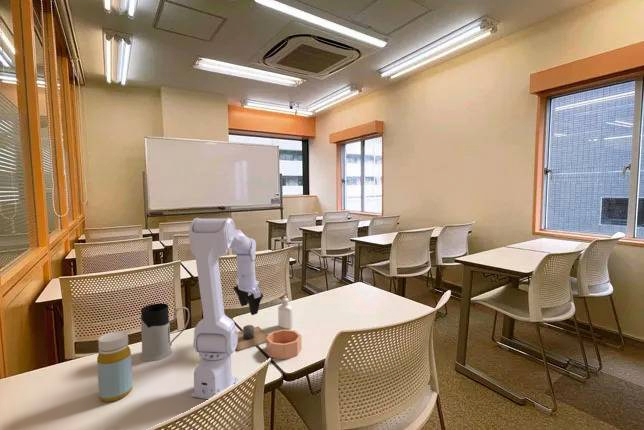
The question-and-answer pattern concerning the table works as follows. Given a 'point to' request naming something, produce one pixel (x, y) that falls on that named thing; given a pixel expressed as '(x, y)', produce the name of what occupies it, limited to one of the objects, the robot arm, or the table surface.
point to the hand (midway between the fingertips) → (249, 309)
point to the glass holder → (156, 331)
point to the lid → (250, 337)
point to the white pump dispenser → (285, 315)
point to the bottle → (114, 366)
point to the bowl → (283, 344)
